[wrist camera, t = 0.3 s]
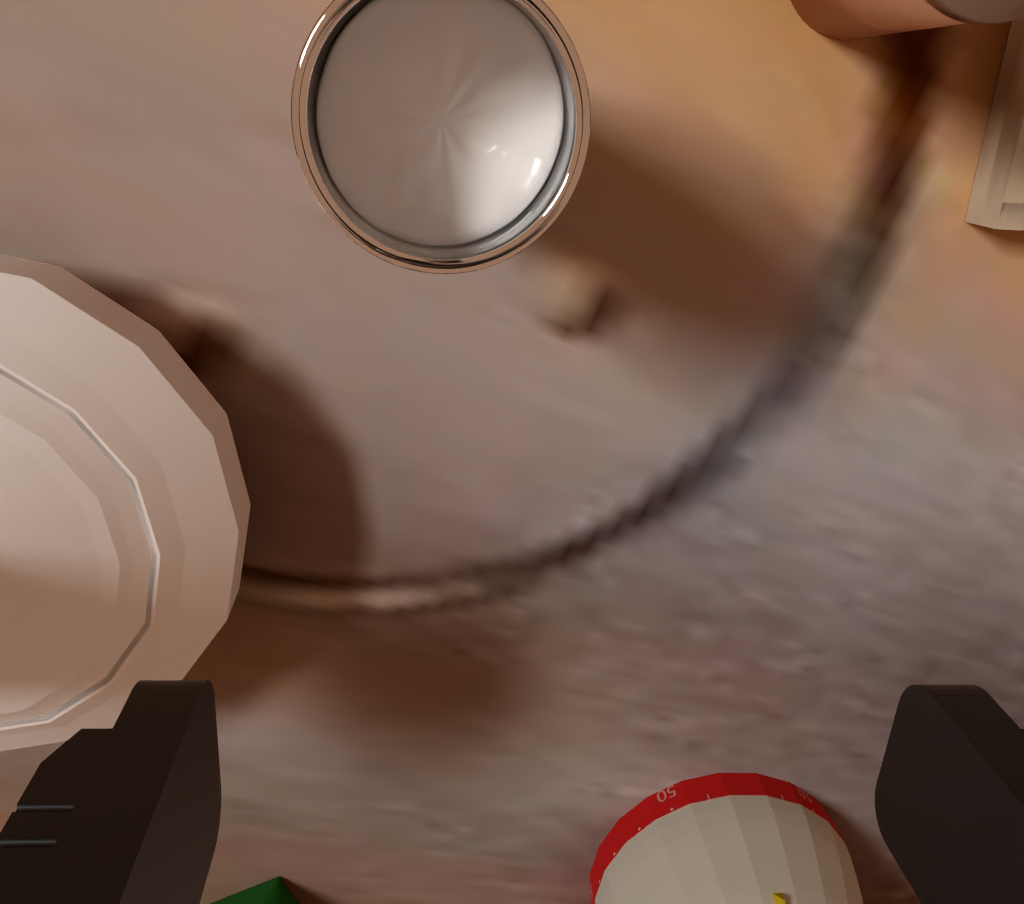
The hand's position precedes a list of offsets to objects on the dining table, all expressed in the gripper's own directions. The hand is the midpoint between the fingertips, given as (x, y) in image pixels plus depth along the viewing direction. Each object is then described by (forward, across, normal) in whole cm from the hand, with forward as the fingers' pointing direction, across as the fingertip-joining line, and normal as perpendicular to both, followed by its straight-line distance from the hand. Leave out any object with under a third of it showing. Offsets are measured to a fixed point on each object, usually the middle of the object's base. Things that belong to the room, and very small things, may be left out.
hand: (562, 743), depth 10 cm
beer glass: (+28, +2, -6) cm, 29 cm away
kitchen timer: (+28, -15, +32) cm, 45 cm away
